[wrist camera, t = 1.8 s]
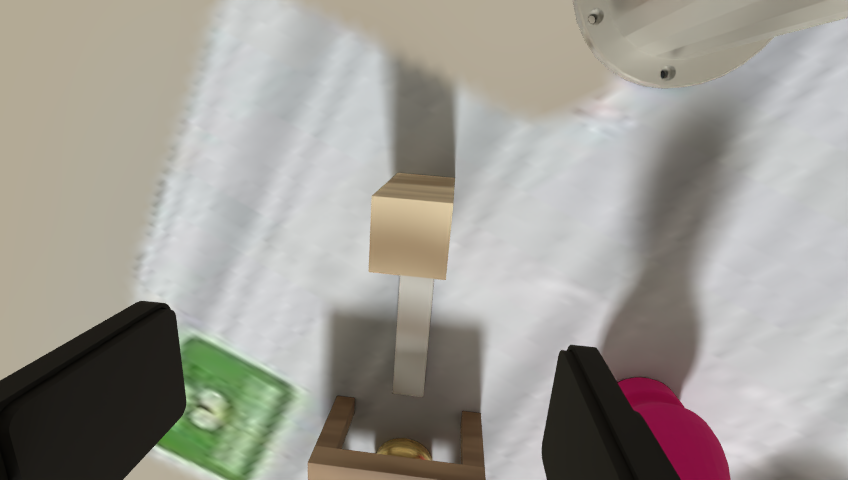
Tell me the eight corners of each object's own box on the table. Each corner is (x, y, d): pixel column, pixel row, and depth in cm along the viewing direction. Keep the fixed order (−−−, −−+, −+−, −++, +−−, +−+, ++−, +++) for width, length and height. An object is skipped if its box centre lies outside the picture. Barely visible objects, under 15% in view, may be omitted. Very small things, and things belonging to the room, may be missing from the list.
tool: (397, 172, 29) (371, 195, 20) (454, 177, 28) (453, 203, 20) (385, 380, 34) (360, 470, 25) (434, 386, 33) (425, 479, 25)
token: (377, 432, 35) (373, 448, 34) (434, 439, 35) (433, 456, 33) (374, 478, 37) (370, 495, 35) (430, 485, 37) (428, 503, 35)
